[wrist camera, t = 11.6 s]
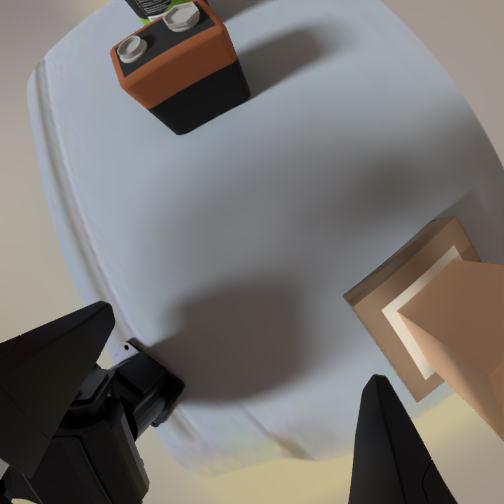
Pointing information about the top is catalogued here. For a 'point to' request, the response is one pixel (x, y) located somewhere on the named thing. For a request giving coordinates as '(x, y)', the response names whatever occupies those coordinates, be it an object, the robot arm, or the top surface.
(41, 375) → the robot arm
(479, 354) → the pillar block
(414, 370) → the foundation block
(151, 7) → the beverage can
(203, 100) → the battery
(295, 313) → the top surface
